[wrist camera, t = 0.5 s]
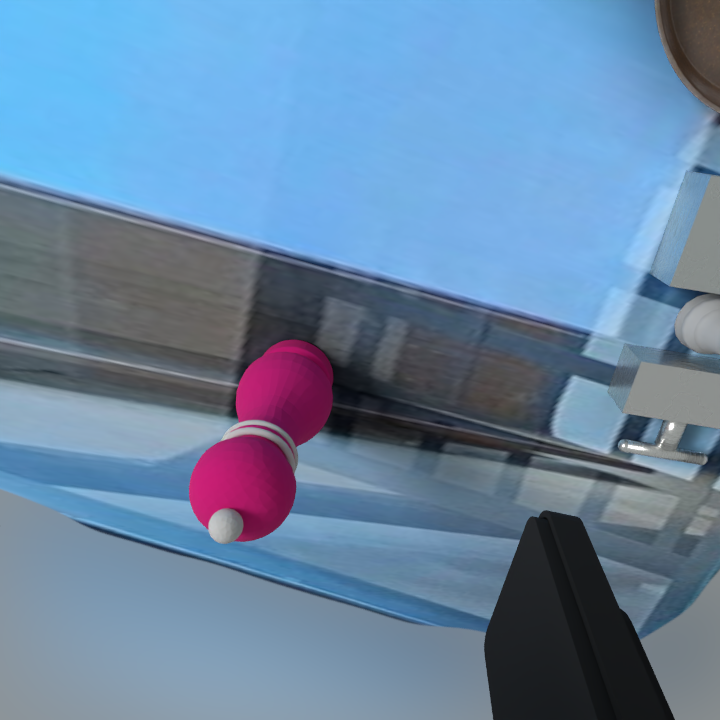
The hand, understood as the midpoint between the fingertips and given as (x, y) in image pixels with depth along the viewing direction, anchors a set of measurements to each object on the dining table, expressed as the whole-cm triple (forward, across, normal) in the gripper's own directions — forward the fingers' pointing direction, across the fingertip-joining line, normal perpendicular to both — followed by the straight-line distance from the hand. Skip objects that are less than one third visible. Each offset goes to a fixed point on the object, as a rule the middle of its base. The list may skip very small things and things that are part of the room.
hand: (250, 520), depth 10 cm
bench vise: (+34, -25, +2) cm, 43 cm away
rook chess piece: (+35, -25, +2) cm, 43 cm away
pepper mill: (+35, +4, +14) cm, 38 cm away
